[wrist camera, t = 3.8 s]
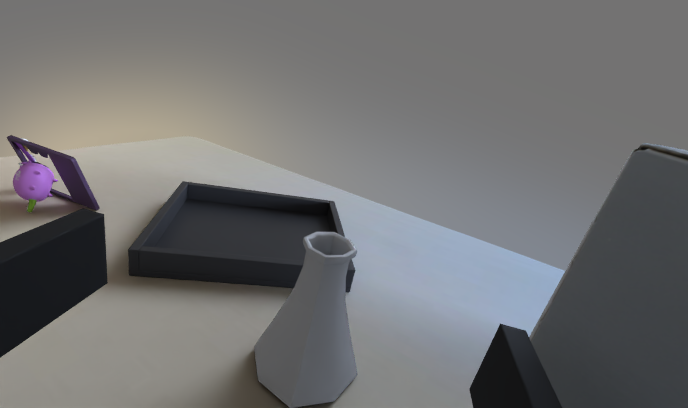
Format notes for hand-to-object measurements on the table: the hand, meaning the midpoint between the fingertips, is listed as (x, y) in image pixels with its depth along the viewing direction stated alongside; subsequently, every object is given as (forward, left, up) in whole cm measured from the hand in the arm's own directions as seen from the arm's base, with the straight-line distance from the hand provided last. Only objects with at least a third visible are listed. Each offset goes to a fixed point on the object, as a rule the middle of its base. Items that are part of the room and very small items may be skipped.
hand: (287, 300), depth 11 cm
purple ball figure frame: (+24, -29, -13) cm, 40 cm away
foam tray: (+2, -26, -13) cm, 29 cm away
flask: (-3, -9, -13) cm, 16 cm away
